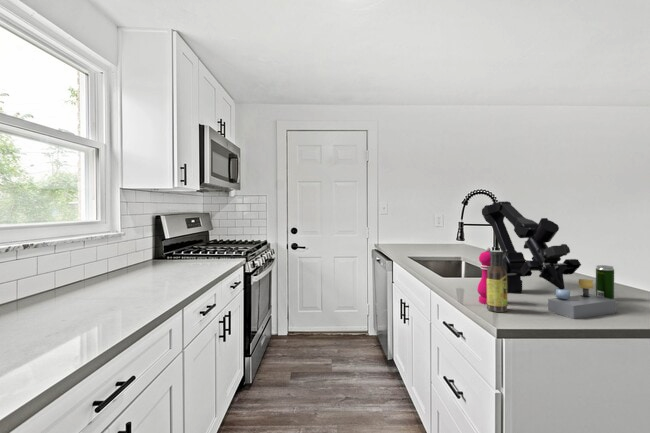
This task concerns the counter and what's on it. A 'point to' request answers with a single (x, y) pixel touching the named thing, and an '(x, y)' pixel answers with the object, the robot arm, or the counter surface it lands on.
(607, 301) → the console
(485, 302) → the pepper mill
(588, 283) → the amber button
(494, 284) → the sauce bottle
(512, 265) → the robot arm
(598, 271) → the beer can
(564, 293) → the blue button
